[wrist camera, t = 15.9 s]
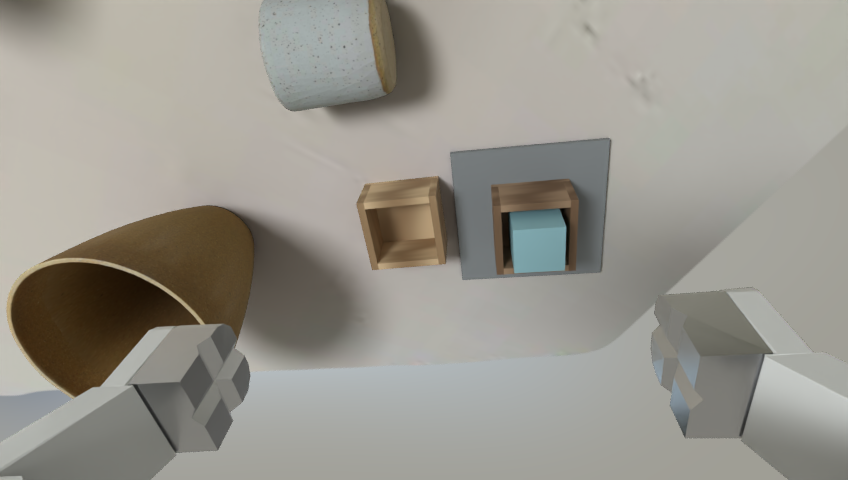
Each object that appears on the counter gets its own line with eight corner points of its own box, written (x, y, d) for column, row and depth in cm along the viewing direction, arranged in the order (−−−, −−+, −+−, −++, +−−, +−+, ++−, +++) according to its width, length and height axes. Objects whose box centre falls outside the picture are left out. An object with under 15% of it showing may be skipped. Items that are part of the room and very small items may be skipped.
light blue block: (554, 196, 41) (566, 226, 36) (554, 236, 43) (564, 270, 38) (507, 199, 42) (512, 230, 37) (509, 239, 44) (514, 273, 39)
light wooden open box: (438, 175, 42) (435, 195, 39) (447, 239, 45) (445, 263, 42) (365, 183, 43) (356, 203, 40) (379, 245, 46) (372, 270, 43)
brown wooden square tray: (568, 178, 41) (578, 199, 37) (566, 245, 44) (575, 270, 40) (490, 184, 42) (493, 206, 38) (494, 249, 45) (496, 274, 41)
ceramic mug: (405, 84, 38) (392, 108, 32) (307, 98, 39) (275, 124, 33) (380, -72, 33) (358, -83, 27) (269, -51, 34) (221, -56, 28)
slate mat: (608, 137, 39) (610, 139, 39) (599, 269, 46) (600, 272, 45) (450, 152, 41) (450, 153, 40) (462, 277, 47) (462, 279, 47)
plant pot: (316, 281, 49) (258, 407, 35) (192, 308, 52) (94, 434, 38) (248, 146, 42) (142, 237, 28) (110, 187, 45) (-46, 287, 31)
